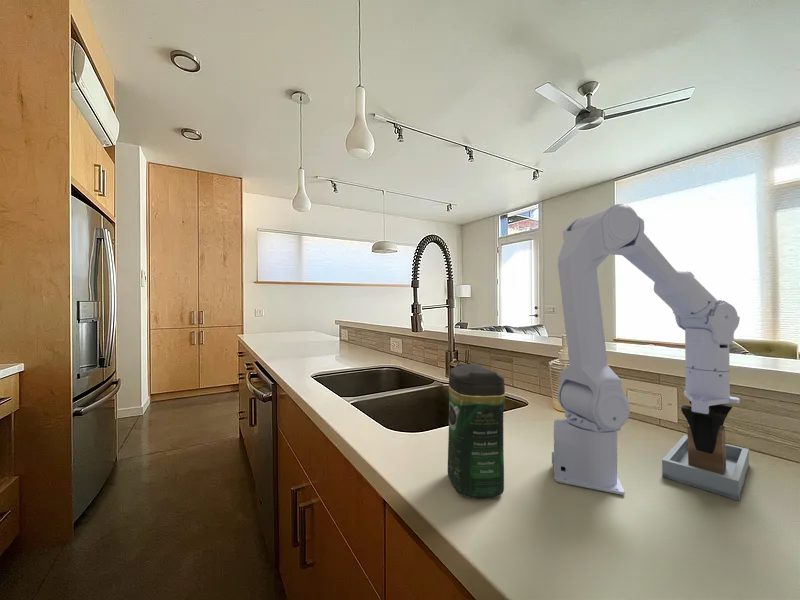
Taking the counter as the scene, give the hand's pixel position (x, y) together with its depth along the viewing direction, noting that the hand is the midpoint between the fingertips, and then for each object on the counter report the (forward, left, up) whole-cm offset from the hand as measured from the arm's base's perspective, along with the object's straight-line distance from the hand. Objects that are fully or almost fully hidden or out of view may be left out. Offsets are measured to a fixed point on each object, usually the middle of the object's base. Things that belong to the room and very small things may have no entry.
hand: (707, 447), depth 58 cm
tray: (0, 0, -4) cm, 4 cm away
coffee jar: (-36, -22, -4) cm, 42 cm away
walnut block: (0, 0, -3) cm, 3 cm away
